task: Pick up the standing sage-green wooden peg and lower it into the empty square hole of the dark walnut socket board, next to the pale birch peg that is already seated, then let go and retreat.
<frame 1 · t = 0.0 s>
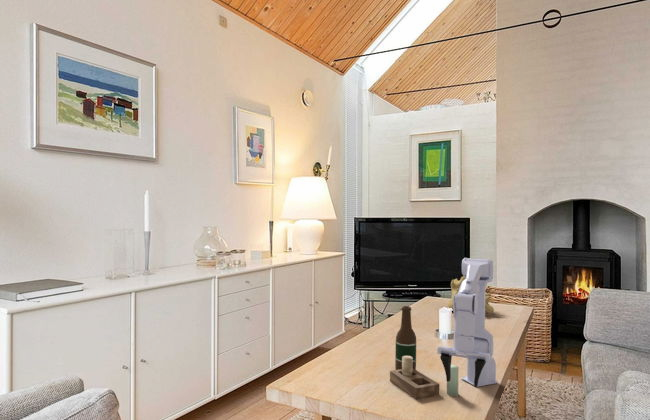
hand: (462, 383, 129), 11 cm above the table, tool pointing down, fingers open, 7 cm apart
beer bottle: (405, 371, 167), on the table
decorative coral: (469, 313, 260), on the table
green peg: (452, 393, 147), on the table
socket board: (413, 387, 152), on the table
birch peg: (407, 383, 156), resting in socket board
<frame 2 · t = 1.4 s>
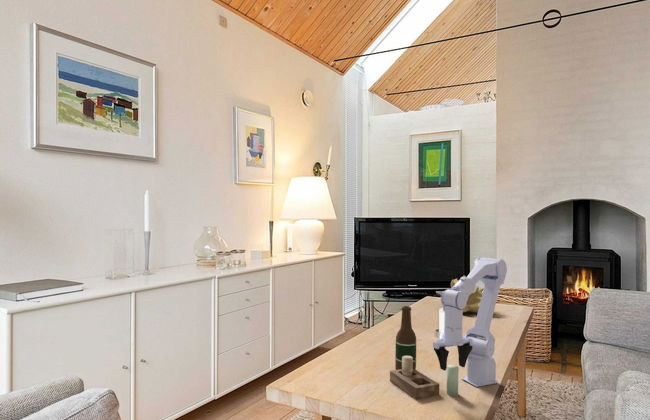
hand: (452, 367, 147), 9 cm above the table, tool pointing down, fingers open, 7 cm apart
nothing on the table moved.
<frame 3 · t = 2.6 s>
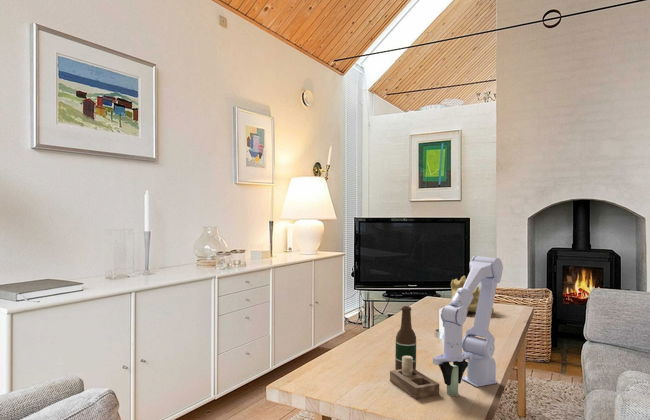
hand: (452, 383, 147), 3 cm above the table, tool pointing down, fingers closed on green peg, 4 cm apart
green peg: (452, 393, 147), on the table, touching gripper
everything else where it was.
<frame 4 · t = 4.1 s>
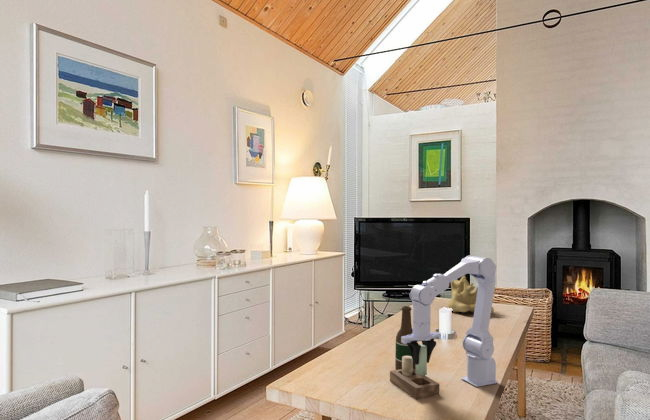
hand: (421, 362, 148), 10 cm above the table, tool pointing down, fingers closed on green peg, 4 cm apart
green peg: (421, 373, 148), point 6 cm above the table, touching gripper
everything else where it was.
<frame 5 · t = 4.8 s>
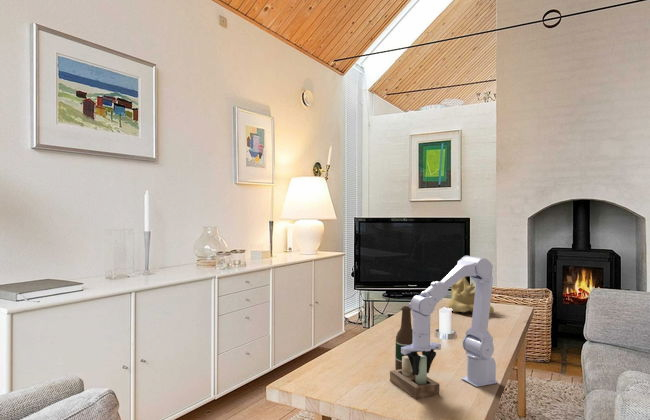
hand: (420, 373, 148), 6 cm above the table, tool pointing down, fingers closed on green peg, 4 cm apart
green peg: (420, 383, 148), point 3 cm above the table, touching gripper
everything else where it was.
when the fingers open (5 cm above the table, at t = 5.6 s): green peg drops 1 cm, resting in socket board.
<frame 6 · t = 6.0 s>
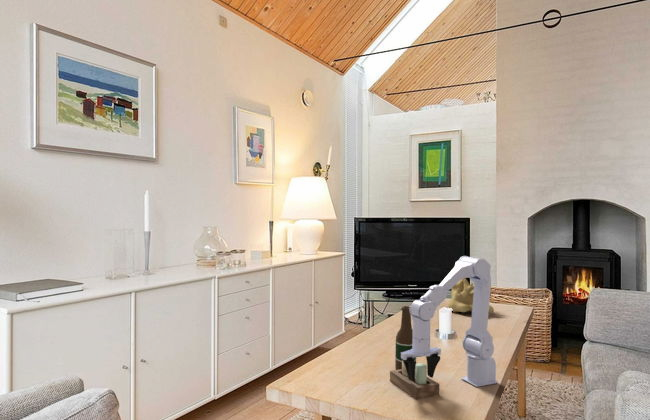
hand: (420, 378, 148), 5 cm above the table, tool pointing down, fingers open, 7 cm apart
green peg: (420, 392, 148), resting in socket board
everything else where it was.
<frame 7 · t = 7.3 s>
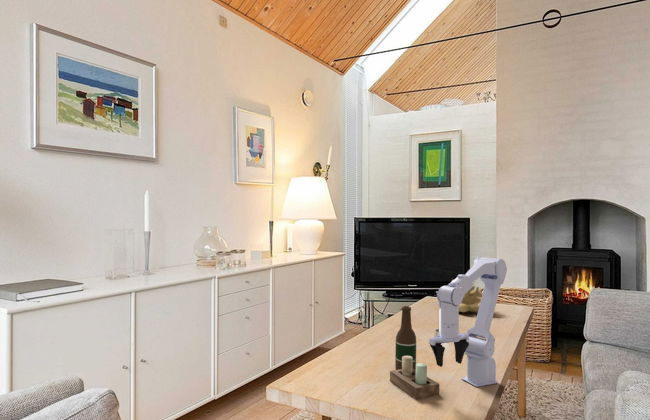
hand: (449, 364, 147), 10 cm above the table, tool pointing down, fingers open, 7 cm apart
nothing on the table moved.
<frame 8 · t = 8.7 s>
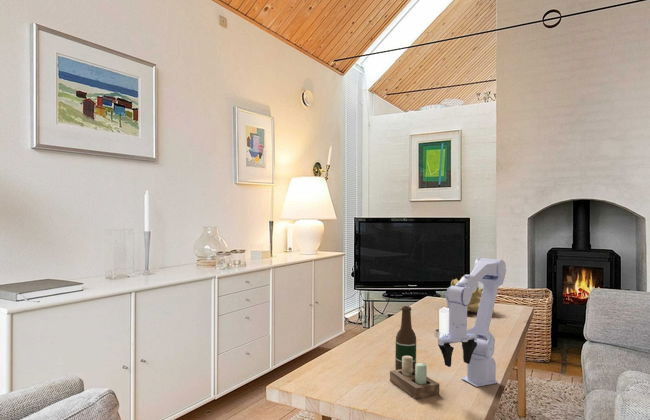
hand: (457, 364, 147), 10 cm above the table, tool pointing down, fingers open, 7 cm apart
nothing on the table moved.
at the end: green peg 0.1 cm from the target spot on the socket board, point 0.0 cm above the socket board's base; green peg tilted 1°; the gripper is holding nothing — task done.
